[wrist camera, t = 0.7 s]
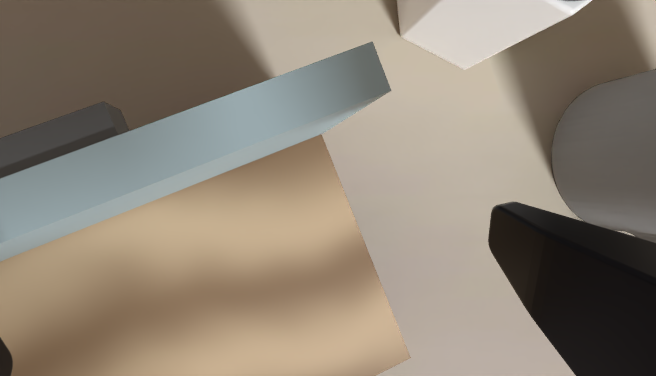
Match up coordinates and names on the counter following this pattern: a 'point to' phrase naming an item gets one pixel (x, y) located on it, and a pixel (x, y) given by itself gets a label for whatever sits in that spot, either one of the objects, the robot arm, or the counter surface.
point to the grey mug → (610, 155)
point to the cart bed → (209, 284)
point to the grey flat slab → (166, 147)
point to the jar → (477, 25)
